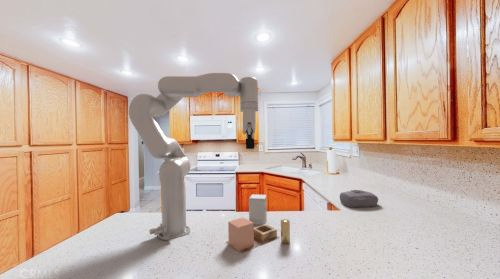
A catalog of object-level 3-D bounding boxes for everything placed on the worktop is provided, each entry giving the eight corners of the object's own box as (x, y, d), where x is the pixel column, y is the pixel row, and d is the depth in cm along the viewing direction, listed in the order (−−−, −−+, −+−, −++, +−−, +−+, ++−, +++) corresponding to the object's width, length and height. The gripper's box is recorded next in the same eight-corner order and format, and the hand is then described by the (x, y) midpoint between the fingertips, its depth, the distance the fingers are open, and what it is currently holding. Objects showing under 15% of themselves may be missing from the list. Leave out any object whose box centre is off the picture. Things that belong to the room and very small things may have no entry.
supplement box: (265, 227, 94) (264, 198, 94) (248, 226, 95) (248, 198, 95) (267, 220, 101) (266, 194, 101) (251, 220, 102) (251, 193, 102)
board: (241, 256, 70) (240, 235, 70) (225, 245, 78) (225, 225, 78) (279, 240, 81) (279, 221, 81) (262, 231, 89) (262, 214, 89)
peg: (285, 248, 75) (285, 223, 75) (279, 245, 78) (278, 220, 78) (291, 245, 77) (291, 221, 77) (285, 242, 80) (285, 218, 80)
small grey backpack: (350, 209, 115) (385, 208, 116) (350, 194, 115) (384, 193, 116) (336, 201, 130) (367, 200, 131) (336, 188, 130) (367, 186, 131)
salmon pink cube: (238, 251, 72) (238, 227, 72) (228, 243, 77) (228, 221, 77) (254, 244, 76) (253, 222, 76) (243, 238, 81) (243, 217, 81)
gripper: (241, 110, 98) (243, 147, 98) (238, 104, 80) (239, 149, 80) (258, 110, 97) (259, 147, 97) (258, 103, 80) (259, 149, 80)
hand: (250, 148), depth 89 cm, fingers open, 9 cm apart
